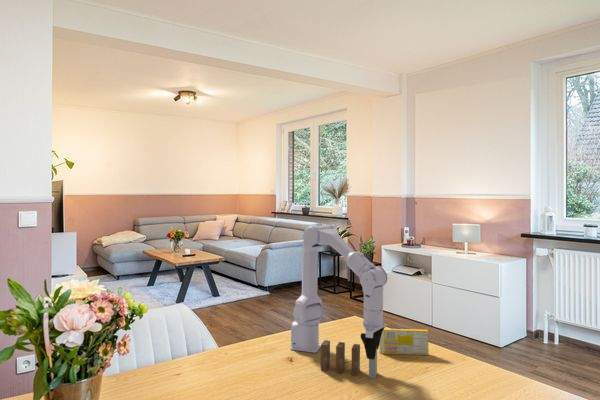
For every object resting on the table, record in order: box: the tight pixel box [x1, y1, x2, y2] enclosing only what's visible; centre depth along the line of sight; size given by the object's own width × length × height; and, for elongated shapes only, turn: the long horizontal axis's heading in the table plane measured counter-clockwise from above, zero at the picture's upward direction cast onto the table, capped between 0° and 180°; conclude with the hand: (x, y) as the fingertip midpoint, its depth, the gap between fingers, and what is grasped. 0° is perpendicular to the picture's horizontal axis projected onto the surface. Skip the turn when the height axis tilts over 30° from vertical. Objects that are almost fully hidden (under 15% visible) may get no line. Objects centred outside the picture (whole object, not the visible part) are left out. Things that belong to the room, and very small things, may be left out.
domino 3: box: [350, 343, 361, 376], centre depth 125 cm, size 2×4×8 cm, turn 161°
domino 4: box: [368, 348, 378, 379], centre depth 124 cm, size 2×4×8 cm, turn 161°
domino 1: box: [320, 339, 331, 372], centre depth 128 cm, size 2×4×8 cm, turn 161°
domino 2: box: [335, 341, 346, 374], centre depth 127 cm, size 2×4×8 cm, turn 161°
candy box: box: [378, 328, 430, 356], centre depth 140 cm, size 16×2×8 cm, turn 84°
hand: (372, 353), depth 124 cm, fingers open, 7 cm apart
